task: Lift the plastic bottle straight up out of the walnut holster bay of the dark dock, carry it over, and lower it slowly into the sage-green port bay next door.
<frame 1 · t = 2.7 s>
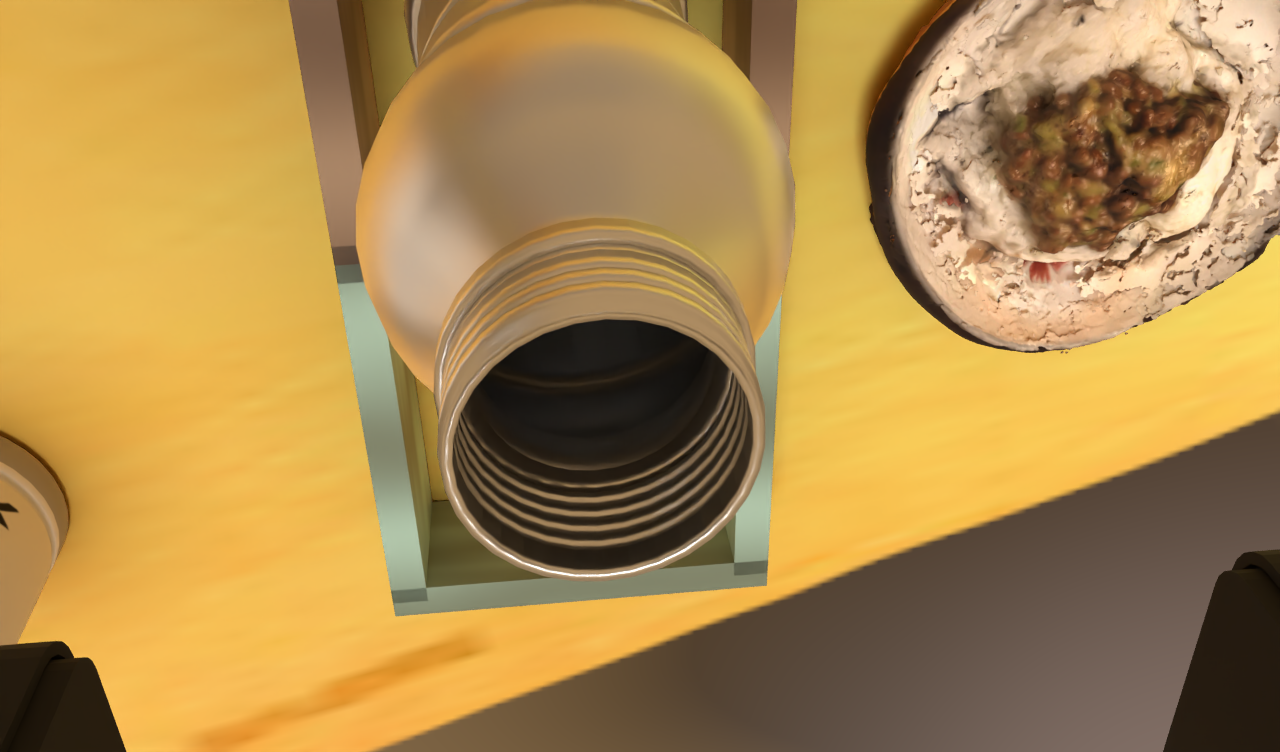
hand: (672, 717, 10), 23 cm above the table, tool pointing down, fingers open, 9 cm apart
dock: (556, 186, 33), on the table
sushi roll: (1070, 129, 34), on the table
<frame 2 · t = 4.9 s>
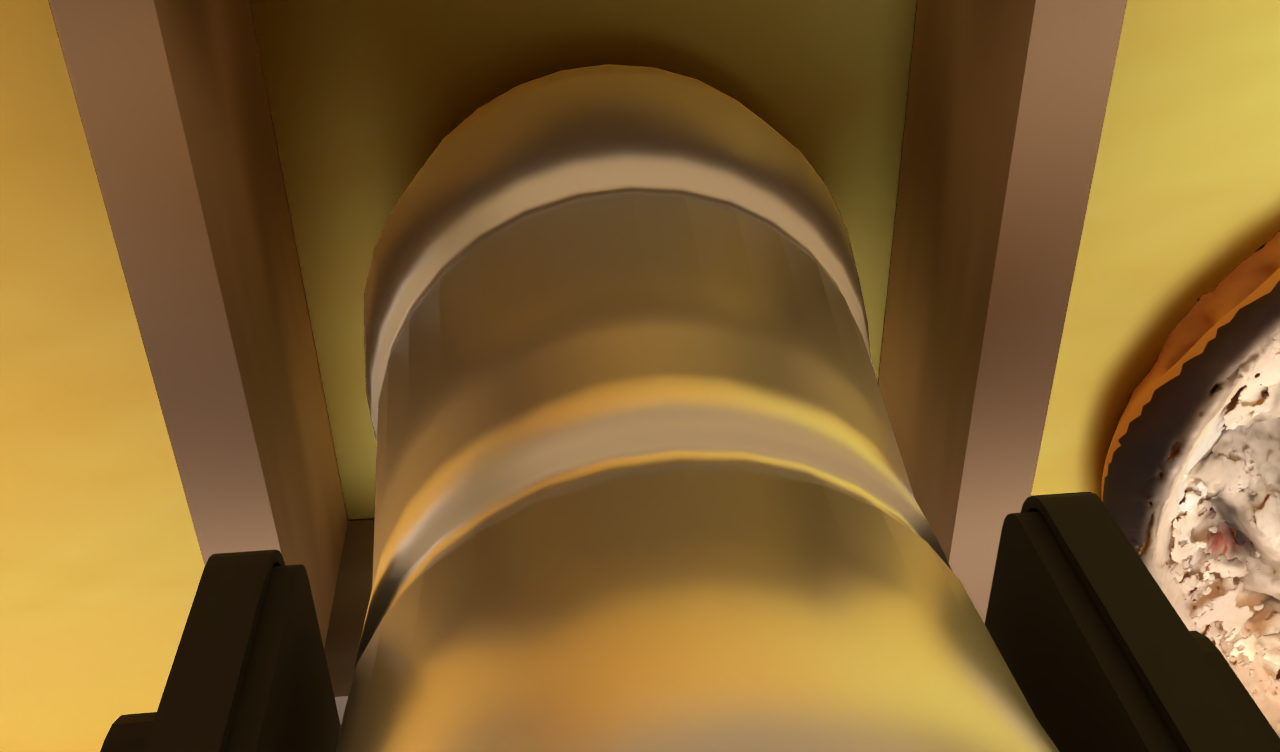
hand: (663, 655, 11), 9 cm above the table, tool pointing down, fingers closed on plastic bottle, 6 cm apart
dock: (612, 525, 21), on the table
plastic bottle: (601, 234, 18), resting in dock, touching gripper
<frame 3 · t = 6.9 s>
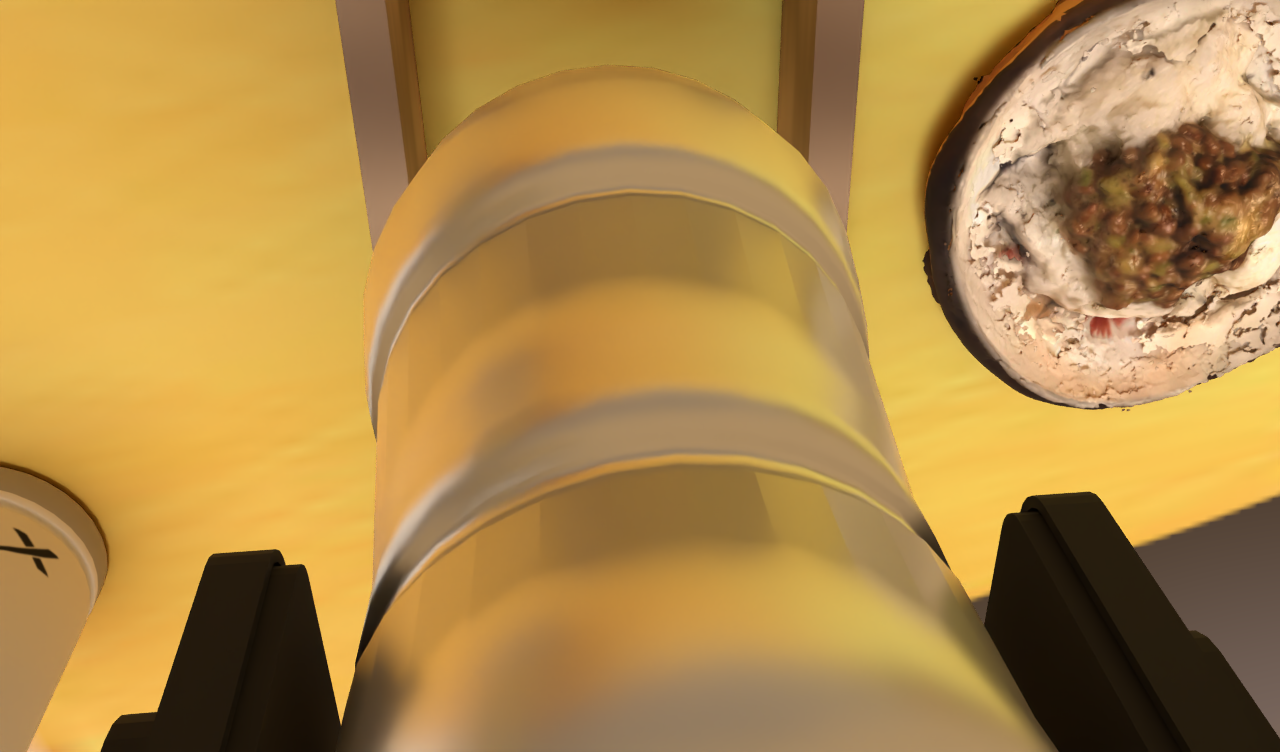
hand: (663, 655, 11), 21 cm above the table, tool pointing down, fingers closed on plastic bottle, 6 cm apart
dock: (606, 235, 32), on the table
travel mug: (1, 536, 36), on the table
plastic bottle: (600, 234, 18), point 13 cm above the table, touching gripper
sushi roll: (1134, 181, 33), on the table
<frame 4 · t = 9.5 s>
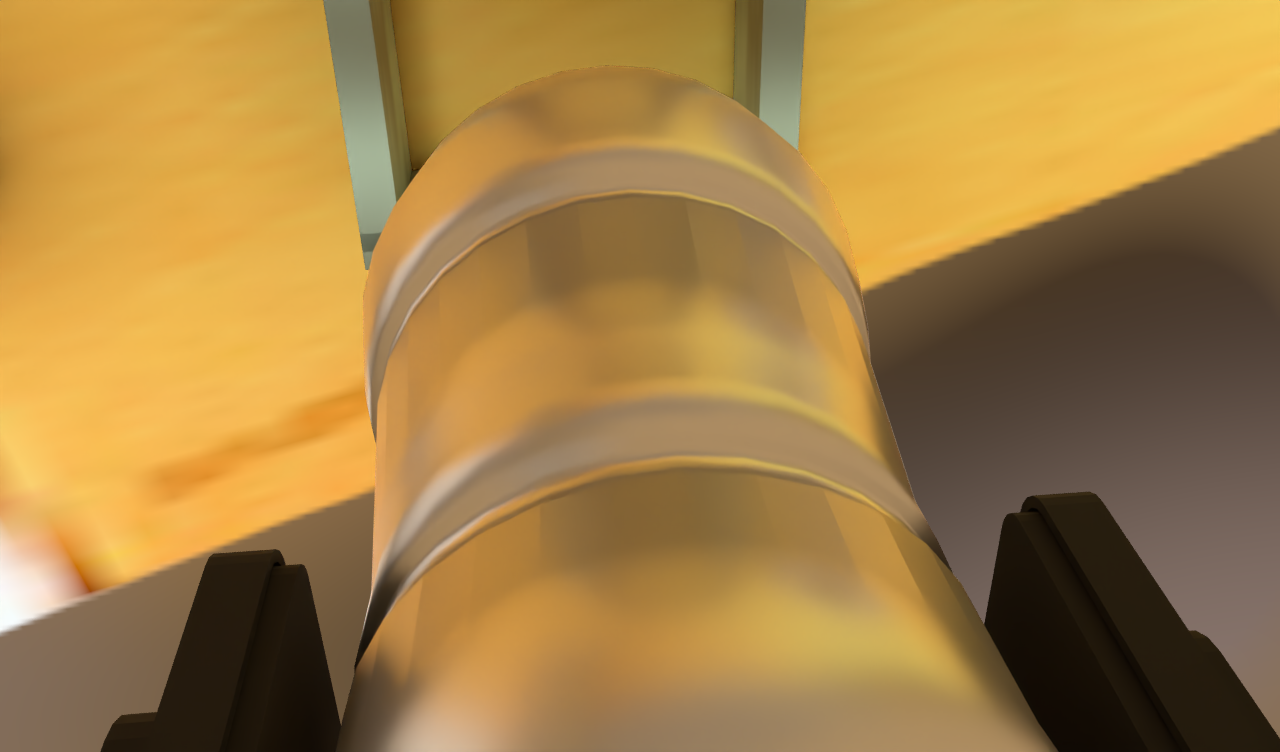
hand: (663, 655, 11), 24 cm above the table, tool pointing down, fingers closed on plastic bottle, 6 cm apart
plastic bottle: (600, 235, 18), point 15 cm above the table, touching gripper
when the fingers open (10 cm above the table, at t = 12.8 s): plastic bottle drops 1 cm, resting in dock.
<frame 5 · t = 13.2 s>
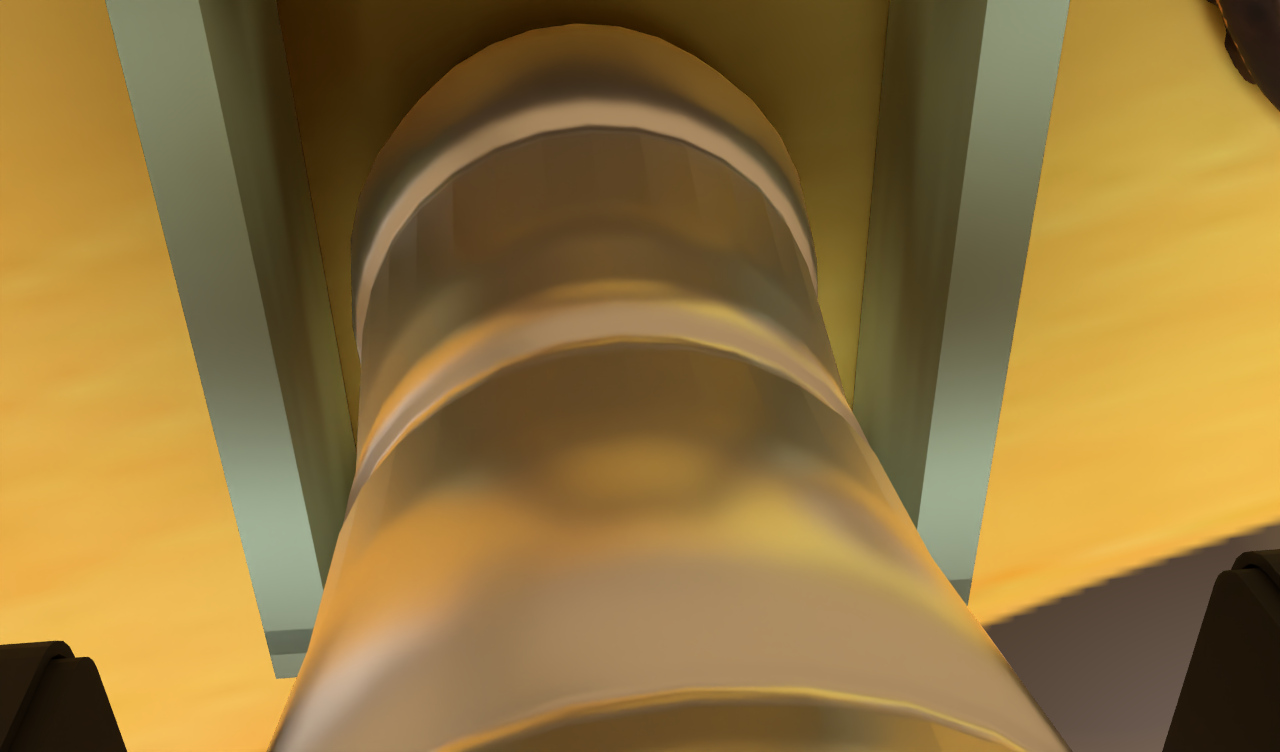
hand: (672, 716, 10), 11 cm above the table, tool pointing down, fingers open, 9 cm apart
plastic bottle: (574, 189, 19), resting in dock
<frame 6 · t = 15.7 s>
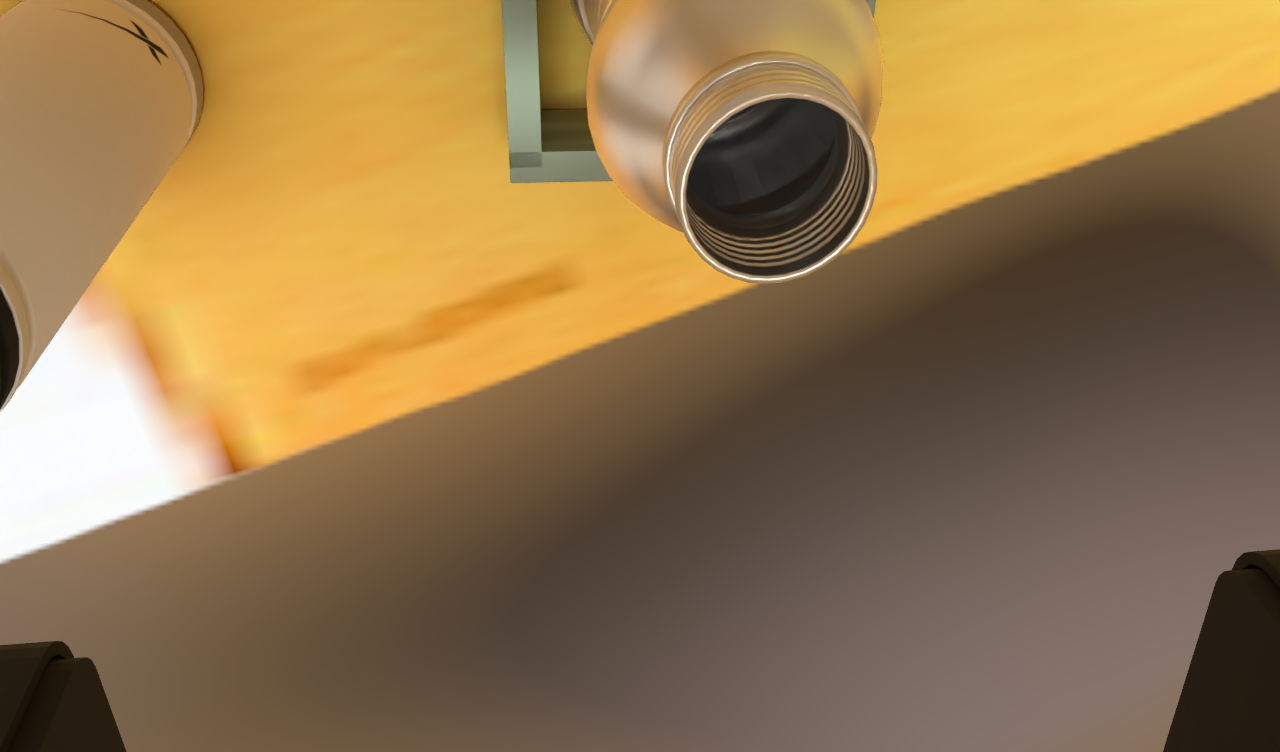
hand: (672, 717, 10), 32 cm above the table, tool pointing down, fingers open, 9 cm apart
travel mug: (105, 70, 39), on the table
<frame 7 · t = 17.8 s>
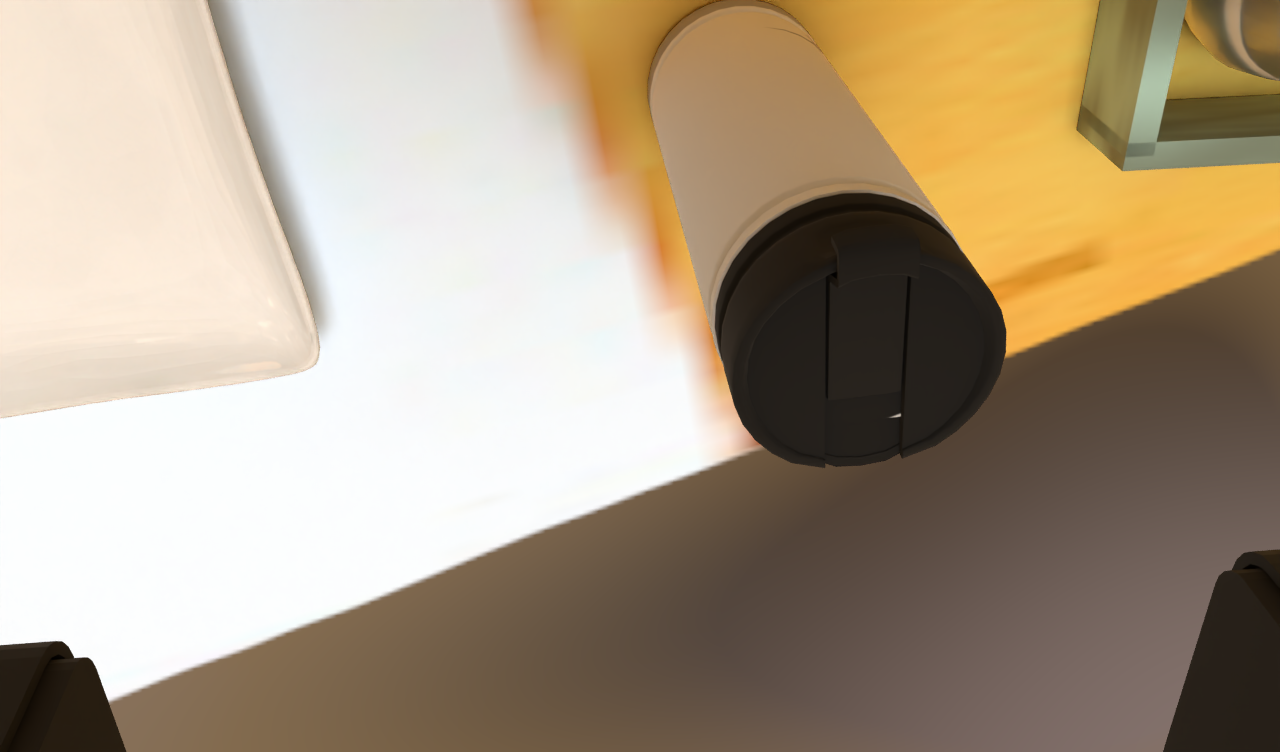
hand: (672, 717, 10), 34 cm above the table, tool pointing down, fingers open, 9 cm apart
travel mug: (732, 78, 43), on the table
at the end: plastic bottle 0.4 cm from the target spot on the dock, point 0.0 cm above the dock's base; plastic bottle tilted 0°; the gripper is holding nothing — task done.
